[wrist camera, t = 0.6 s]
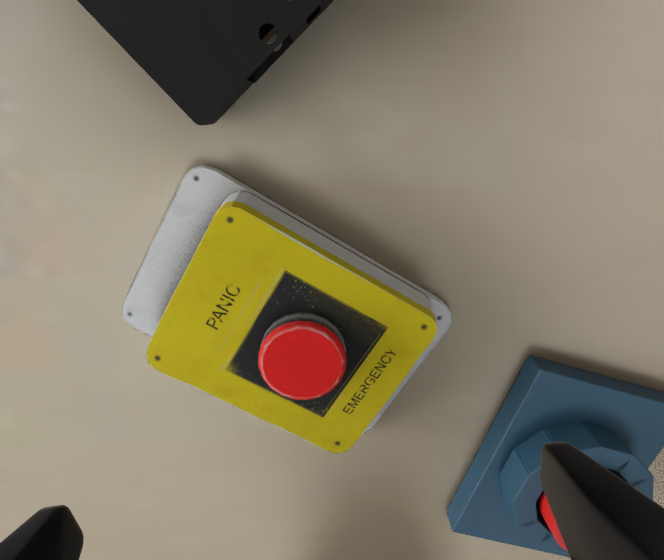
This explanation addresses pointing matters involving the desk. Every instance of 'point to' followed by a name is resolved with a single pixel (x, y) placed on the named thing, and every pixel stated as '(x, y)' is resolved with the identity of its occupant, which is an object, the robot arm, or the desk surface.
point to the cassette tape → (205, 44)
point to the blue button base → (547, 427)
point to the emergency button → (278, 313)
